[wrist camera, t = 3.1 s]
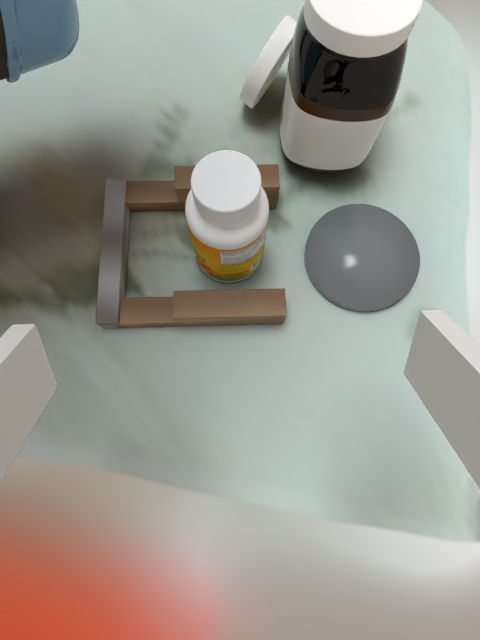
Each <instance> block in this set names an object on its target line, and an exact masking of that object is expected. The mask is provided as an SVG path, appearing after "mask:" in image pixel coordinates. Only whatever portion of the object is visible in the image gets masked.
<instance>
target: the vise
mask: <svg viewBox="0 0 480 640" xmlns="http://www.w3.org/2000/svg"><path fill="white" fill-rule="evenodd" d="M257 167H258V169H259V171H260V175H261V186H262V188H263V189H264V191H265V193H266V195H267V198H268V203H269V209H272V208H276V204H277V199H278V194H279V188H280V183H279V167H278V164H275V165H257ZM194 168H195V166H175V181H127V180H126V178H121V179H106V185H105V199H104V213H103V226H102V240H101V254H100V267H99V281H98V295H97V308H96V322H95V323H96V324H98V325H99V326H101V327H103V328H121V327H163V326H205V325H247V324H282V323H283V321H284V319H285V317H286V299H285V289H243V290H198V291H174V297H138V298H126V282H127V263H128V245H129V226H130V211H165V210H185V204H186V199H187V196H188V193H189V191H190V190H191V176H192V172H193V170H194Z"/></svg>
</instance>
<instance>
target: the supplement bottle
mask: <svg viewBox="0 0 480 640" xmlns="http://www.w3.org/2000/svg"><path fill="white" fill-rule="evenodd" d="M185 214H186V221H187V224H188V228H189V232H190V236H191V240H192V244H193V248H194V251H195V255H196V259H197V262H198V264H199V266H200V268H201V269H202V271H203V272H204V273H205V274H206V275H208V276H209V277H210V278H212V279H214V280H216V281H219V282H224V283H233V282H238V281H241V280H244V279H246V278H247V277H249V276H250V275H251V274H253V273H254V271H255V270H256V269H257V268H258V266H259V264H260V262H261V258H262V254H263V249H264V242H265V236H266V230H267V224H268V218H269V203H268V198H267V195H266V193H265V191H264V189H263V188H262V186H261V175H260V171H259V169H258V167H257V165H256V164H255V163H254V162H253V161H252V160H251V159H250V158H249V157H248V156H246V155H244V154H242V153H240V152H237V151H232V150H221V151H216V152H213V153H210V154H208V155H206V156H205V157H203V158H202V159H201V160H200V161H199V162H198V163H197V165H196V166H195V168H194V170H193V172H192V176H191V190H190V191H189V193H188V196H187V199H186V204H185Z"/></svg>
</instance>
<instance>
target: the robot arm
mask: <svg viewBox="0 0 480 640" xmlns="http://www.w3.org/2000/svg"><path fill="white" fill-rule="evenodd" d="M78 36H79V15H78V9H77V4H76V0H0V80H2V79H7V81H8V82H10V83H12V82H15V81H17V80H18V79H19V77H20V75H21V74H23V73H26V72H29V71H32V70H35V69H38V68H40V67H43V66H46V65H49V64H52V63H54V62H57V61H60V60H62V59H64V58H65V57H67V56H68V55H69V54H70V53H71V52H72V51H73V49H74V47H75V45H76V43H77V40H78ZM404 375H405V376H406V378H407V379H408V381H409V382H410V384H411V385H412V387H413V388H414V390H415V391H416V393H417V394H418V396H419V397H420V399H421V400H422V402H423V404H424V405H425V407H426V408H427V410H428V411H429V413H430V414H431V416H432V417H433V419H434V420H435V422H436V423H437V425H438V426H439V428H440V429H441V431H442V432H443V434H444V435H445V437H446V438H447V440H448V441H449V443H450V444H451V446H452V447H453V449H454V451H455V452H456V454H457V455H458V457H459V458H460V460H461V461H462V463H463V464H464V466H465V467H466V469H467V470H468V472H469V473H470V475H471V476H472V478H473V479H474V481H475V482H476V484H477V485H478V487H479V488H480V345H479V344H478V343H477V342H475V341H474V339H473V338H471V337H470V336H469V335H468V334H467V333H466V332H465V331H464V330H463V329H462V328H461V327H460V326H459V325H458V324H457V323H456V322H455V321H454V320H453V319H451V318H450V317H449V316H448V315H447V314H446V313H445V312H444V311H443V310H424V311H420V314H419V318H418V322H417V325H416V329H415V333H414V337H413V340H412V344H411V348H410V352H409V355H408V359H407V363H406V367H405V370H404ZM57 387H58V385H57V382H56V379H55V377H54V374H53V371H52V368H51V365H50V363H49V360H48V357H47V354H46V351H45V349H44V346H43V343H42V340H41V337H40V335H39V332H38V329H37V326H36V324H14V325H12V326H11V327H10V328H9V329H8V330H7V331H6V332H5V333H4V334H3V335H2V336H1V337H0V483H1V482H2V480H3V478H4V476H5V475H6V473H7V471H8V470H9V468H10V466H11V465H12V463H13V461H14V460H15V458H16V456H17V455H18V453H19V451H20V450H21V448H22V446H23V445H24V443H25V441H26V439H27V438H28V436H29V434H30V433H31V431H32V429H33V428H34V426H35V424H36V423H37V421H38V419H39V418H40V416H41V414H42V413H43V411H44V409H45V407H46V406H47V404H48V402H49V401H50V399H51V397H52V396H53V394H54V392H55V391H56V389H57Z"/></svg>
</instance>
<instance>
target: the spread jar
mask: <svg viewBox="0 0 480 640" xmlns="http://www.w3.org/2000/svg"><path fill="white" fill-rule="evenodd" d="M422 5H423V0H305V5H304V6H303V8H302V10H301V12H300V14H299V17H298V19H297V22H296V21H295V20H294V19H293V18H292V17H290V16H289V15H287V16H286V17H285V18H284V19H283V20H282V21H281V23H280V24H279V25H278V27H277V28H276V30H275V31H274V33H273V34H272V36H271V37H270V39H269V40H268V42H267V43H266V45H265V47H264V48H263V50H262V52H261V54H260V55H259V57H258V59H257V61H256V62H255V64H254V66H253V68H252V70H251V72H250V74H249V76H248V77H247V80H246V82H245V84H244V86H243V88H242V91H241V94H240V97H239V98H240V100H241V101H243V102H244V103H245V104H246V105H247V106H249V107H250V108H251V109H253V108H254V107H255V106H256V104H257V103H258V102H259V101H260V99H261V98H262V96H263V95H264V93H265V92H266V90H267V89H268V87H269V86H270V84H271V83H272V81H273V80H274V78H275V76H276V75H277V73H278V72H279V70H280V68H281V67H282V65H283V63H284V62H285V60H286V58H287V56H288V55H289V53H290V57H289V64H288V71H287V78H286V84H285V91H284V97H283V104H282V111H281V120H280V139H281V145H282V149H283V152H284V154H285V156H286V157H287V158H288V160H290V161H291V162H292V163H294V164H296V165H298V166H301V167H303V168H306V169H310V170H315V171H323V172H332V171H342V170H348V169H351V168H353V167H356V166H358V165H359V164H361V163H362V162H363V161H364V159H365V158H366V157H367V155H368V153H369V152H370V150H371V148H372V146H373V144H374V142H375V140H376V139H377V137H378V135H379V133H380V131H381V129H382V127H383V125H384V123H385V121H386V119H387V117H388V114H389V112H390V109H391V107H392V105H393V102H394V100H395V97H396V93H397V90H398V87H399V84H400V80H401V76H402V72H403V67H404V63H405V57H406V51H407V42H408V36H409V35H410V33H411V30H412V28H413V26H414V24H415V22H416V19H417V17H418V15H419V13H420V10H421V8H422Z"/></svg>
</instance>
